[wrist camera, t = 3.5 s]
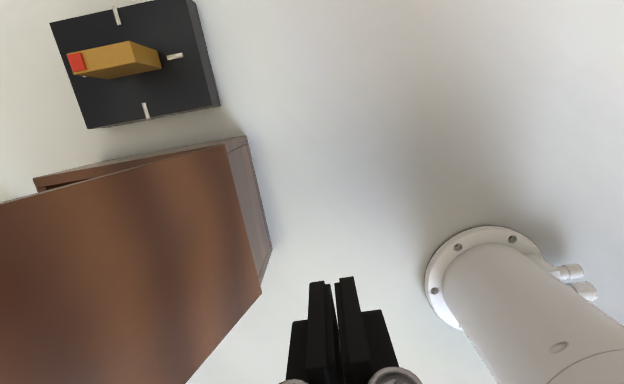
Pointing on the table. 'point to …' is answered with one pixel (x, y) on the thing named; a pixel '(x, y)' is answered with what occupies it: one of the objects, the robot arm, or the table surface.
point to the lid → (124, 274)
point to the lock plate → (149, 85)
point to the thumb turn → (114, 60)
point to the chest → (234, 147)
